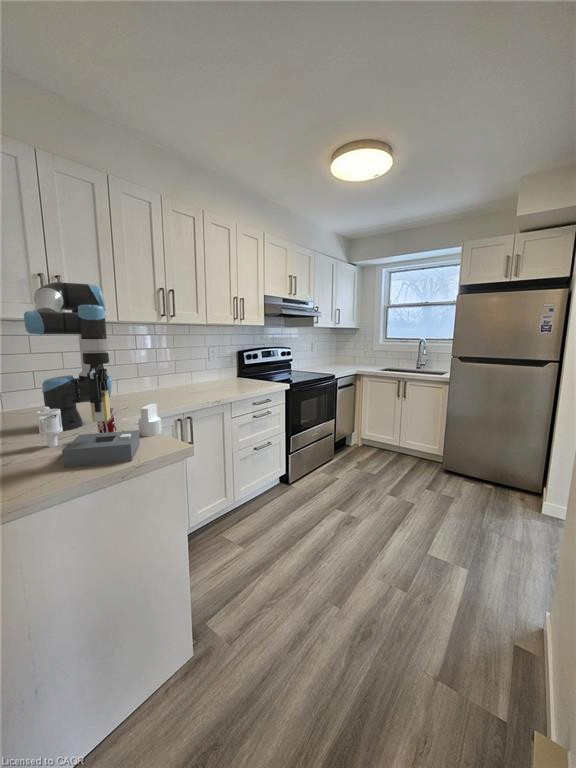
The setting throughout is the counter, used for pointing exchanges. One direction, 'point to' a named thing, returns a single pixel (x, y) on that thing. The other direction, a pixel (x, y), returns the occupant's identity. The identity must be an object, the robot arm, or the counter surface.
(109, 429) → the soda can
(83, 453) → the socket board
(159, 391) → the counter surface
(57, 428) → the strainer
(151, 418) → the cylinder with rectangular tab
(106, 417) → the rectangular block
